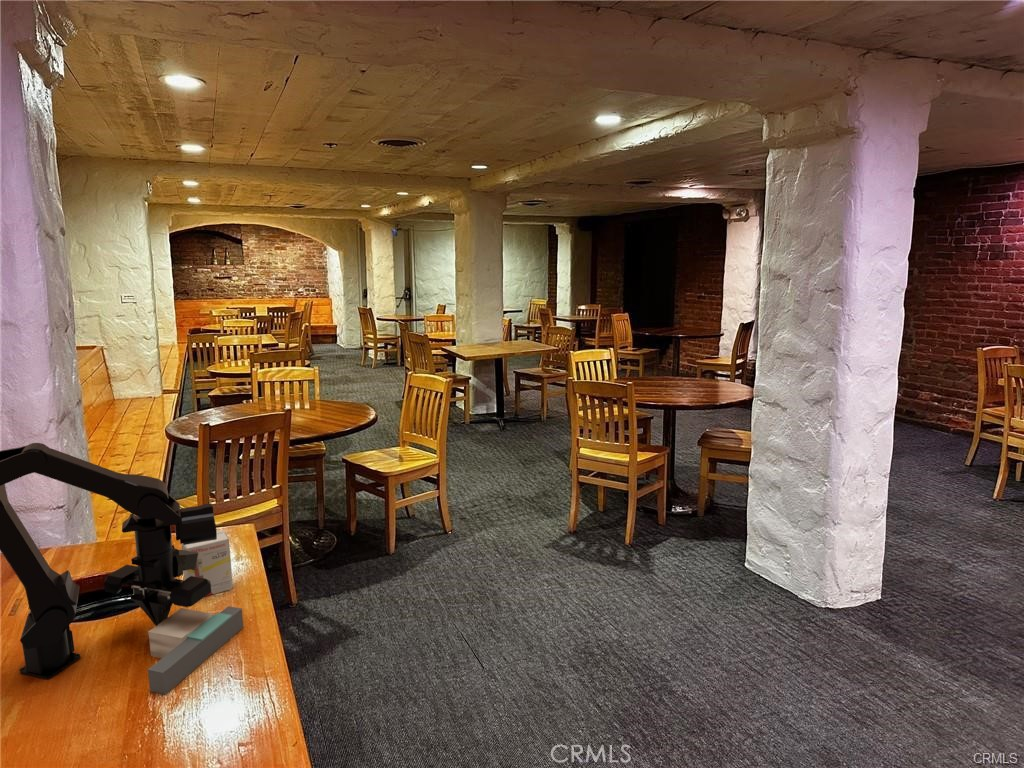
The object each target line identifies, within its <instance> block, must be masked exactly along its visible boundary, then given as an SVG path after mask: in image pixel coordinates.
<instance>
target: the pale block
mask: <svg viewBox="0 0 1024 768" xmlns="http://www.w3.org/2000/svg"><path fill="white" fill-rule="evenodd" d="M212 616H214V613H213V612H212V613H211V612H207V611H206V612H205V611H201V610H194V609H189V608H184V607H183V608H182V607H181V608H179V609H178V610H176V611H175V612H173V613H171V614H170V616H169V615H168V618H167V619H165V620H164V621H162V622H161V623H160V624H158V625H157V626H154V627H153V628H152V629H150V630H148V632H147V633H148V642H149V649H150V656H151V657H154V658H158V659H162V658H163V657H164V656H166V655H167V654H168V653H170V652H171V651H172V650H173V649H175V648H176V647H177V646H178V645H180V644H181V643H182V642H183V641H185V640H186V639H187V636H188V635H189V634H191V633H192V632H193V631H194V630H196V629H197V628H198V627H199V626H201V625H202V624H203V623H205V622H206V621H207V620H208V619H210V618H211V617H212Z"/></svg>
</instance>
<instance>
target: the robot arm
mask: <svg viewBox="0 0 1024 768" xmlns="http://www.w3.org/2000/svg"><path fill="white" fill-rule="evenodd" d="M31 474H38V475H40V476H42V477H43V476H44V477H47V478H50V479H52V480H55V481H57V482H61V483H64V484H66V485H69V486H73V487H76V488H79V489H81V490H85V491H87V492H91V493H93V494H96V495H99V496H102V497H105V498H107V499H109V500H111V501H112V502H114V503H115V504H116V505H118V506H120V507H121V508H122V509H123V510H125V511H126V512H129V513H130V515H129V516H128V517H127V518H126V519H125V520H124V521H123V522H122V523H121V532H122V533H130V532H134V539H135V540H134V541H135V542H134V543H135V551H136V553H135V554H136V556H134V557H132V558H131V561H130V562H131V564H125V565H123V566H121V567H119V568H118V569H116V570H115V571H112V572H111V573H109V574H108V575H107V576H106V577H105V579H104V581H103V587H104V588H103V589H104V592H106V593H112V594H119V593H120V592H121V591H122V589H123V587H122V586H123V584H125V585H129V586H131V589H132V590H133V595H131V596H130V601H133V602H135V603H136V605H138V607H139V608H140V609H141V610H142V611H143V612H144V613H145V614H146V615H147V617H148V618H149V620H150V621H151V622H152V624H153V625H155V626H154V627H156V626H157V625H158V624H160V623H161V622H162V621H164V620H165V619H167V618H168V617H169V615H170V612H171V608H172V606H173V605H174V606H177V607H178V606H179V607H183V608H189V607H192V606H194V605H195V604H196V603H198V602H199V601H201V600H202V599H204V598H205V596H206V597H208V596H207V595H208V594H209V593H211V583H210V581H209V580H208V579H205V578H199V577H194V576H190V577H189V578H187V579H186V580H184V579H179V578H180V577H181V576H184V571H185V570H195V569H196V564H197V558H198V553H197V552H192V551H186V550H182V549H178V548H175V545H174V544H173V539H172V538H173V537H172V528H171V526H174V531H175V541H179V544H180V545H182V543H183V545H187V544H193V543H199V542H205V541H211V540H216V539H217V531H218V530H217V525H216V521H215V516H214V515H215V514H214V507H213V503H211V502H210V503H209V502H208V503H204V504H201V505H196V506H188V507H183V508H181V505H180V503H179V502H178V501H177V500H176V499H175V498H174V497H172V495H170V494H169V492H168V487H167V485H166V483H165V482H164V481H163V480H161V479H160V478H155V477H153V476H152V477H151V476H147V475H141V474H131V473H128V474H127V473H122V472H119V471H118V472H117V471H115V470H112V469H109V468H107V467H103V466H100V465H97V464H95V463H92V462H90V461H87V460H84V459H81V458H78V457H76V456H73V455H71V454H68V453H65V452H62V451H60V450H56V449H53V448H52V447H49V446H48V445H46V444H45V443H42V442H41V443H40V442H33V443H30V444H29V443H28V444H27V445H23V446H20V447H15V448H8V449H3V450H0V552H1V554H2V555H3V557H4V558H5V560H6V561H7V563H8V565H9V566H10V567H11V569H12V570H13V572H14V574H15V575H16V577H17V578H18V580H19V581H20V583H21V584H22V585H23V587H24V589H25V595H26V600H27V605H28V609H29V613H28V614H27V616H26V619H25V623H24V626H23V629H22V633H21V637H20V640H19V641H20V643H21V644H22V652H23V658H24V663H25V665H24V666H22V667H21V668H19V670H18V672H19V674H23V675H27V676H33V677H37V678H41V679H47V680H48V679H51V678H53V677H54V676H56V675H57V674H58V673H60V672H61V671H63V670H64V669H66V668H67V667H69V666H70V665H72V664H73V663H74V662H76V661H78V660H79V659H81V654H80V653H77V652H75V651H76V650H75V643H74V635H73V630H71V629H70V628H71V627H70V625H71V624H72V623H73V621H74V620H75V616H76V614H77V613H76V612H77V608H78V606H77V605H78V600H79V594H80V593H79V592H80V585H79V584H76V582H75V581H74V580H73V578H72V574H71V573H70V571H69V570H66V571H64V572H62V573H58V572H57V571H55V570H54V569H52V568H51V567H50V566H51V565H49V563H48V562H47V560H46V559H45V557H44V555H43V554H42V552H41V551H40V549H39V547H38V546H37V544H36V543H35V540H33V537H32V536H31V534H30V533H29V531H28V530H27V528H26V526H25V525H24V523H23V522H22V520H21V518H20V517H19V516H18V514H17V513H16V511H15V509H14V508H13V506H12V505H11V503H10V501H9V498H8V494H7V493H8V492H7V488H6V484H8V483H11V482H13V481H15V480H17V479H20V478H22V477H24V476H27V475H31Z"/></svg>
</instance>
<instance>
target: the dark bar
mask: <svg viewBox="0 0 1024 768" xmlns="http://www.w3.org/2000/svg"><path fill="white" fill-rule="evenodd" d="M243 619H244V618H243V608H240V607H236V606H227V607H225V608H223V610H221V611H220V612H216V613H215V614H213V616H212V617H211V618H210V619H208V620H207V621H206V622H205V623H203V624H202V625H201V626H199V627H198V628H197V629H196V630H194V631H193V632H192V633H191V634H189V635H188V636H187V639H186V640H185V641H183V642H182V643H181V644H180V645H178V646H177V647H176V648H175V649H173V650H172V651H171V652H170V653H168V654H167V655H166V656H164V657H163V658H160V659H159V660H158V661H157V662H155V663H154V664H153V665H152V666H151V667H149V668H148V669H147V674H148V676H147V677H148V685H149V691H150V692H152V693H157V694H161V695H167V694H168V693H169V692H170V691H171V690H173V689H174V688H175V687H177V685H178V684H180V683H181V682H182V681H183V680H184V679H185V678H186V677H188V676H189V675H190V674H191V673H192V672H194V671H195V670H196V669H197V668H198V667H199V666H200V665H202V664H203V663H204V662H205V661H206V660H207V659H208V658H210V657H211V656H212V655H213V654H214V653H216V652H217V651H218V650H219V649H220V648H221V647H222V646H224V645H225V644H226V643H227V642H228V641H230V639H232V638H233V637H234V636H235V635H236V634H238V632H240V631H241V630H242V629H244V620H243Z"/></svg>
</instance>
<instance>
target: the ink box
mask: <svg viewBox="0 0 1024 768" xmlns="http://www.w3.org/2000/svg"><path fill="white" fill-rule="evenodd" d="M216 531H217V539H216V540H211V541H205V542H199V543H193V544H187V545H183V543H182V544H181V550H186V551H192V552H197V553H198V558H197V564H196V569H195V570H185V571H183V581H184V580H186V579H187V578H189V577H190V576H194V577H199V578H205V579H208V580H209V581H210V583H211V593H209V594H208V595H207V596H205V597H208V596H212V595H215V594H219V593H223V592H226V591H229V590H232V589H233V588H234V584H233V574H232V573H233V572H232V559H231V548H230V539H229V536H228V534H227V533H226V532H225V530H216ZM205 597H204V598H205Z"/></svg>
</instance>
